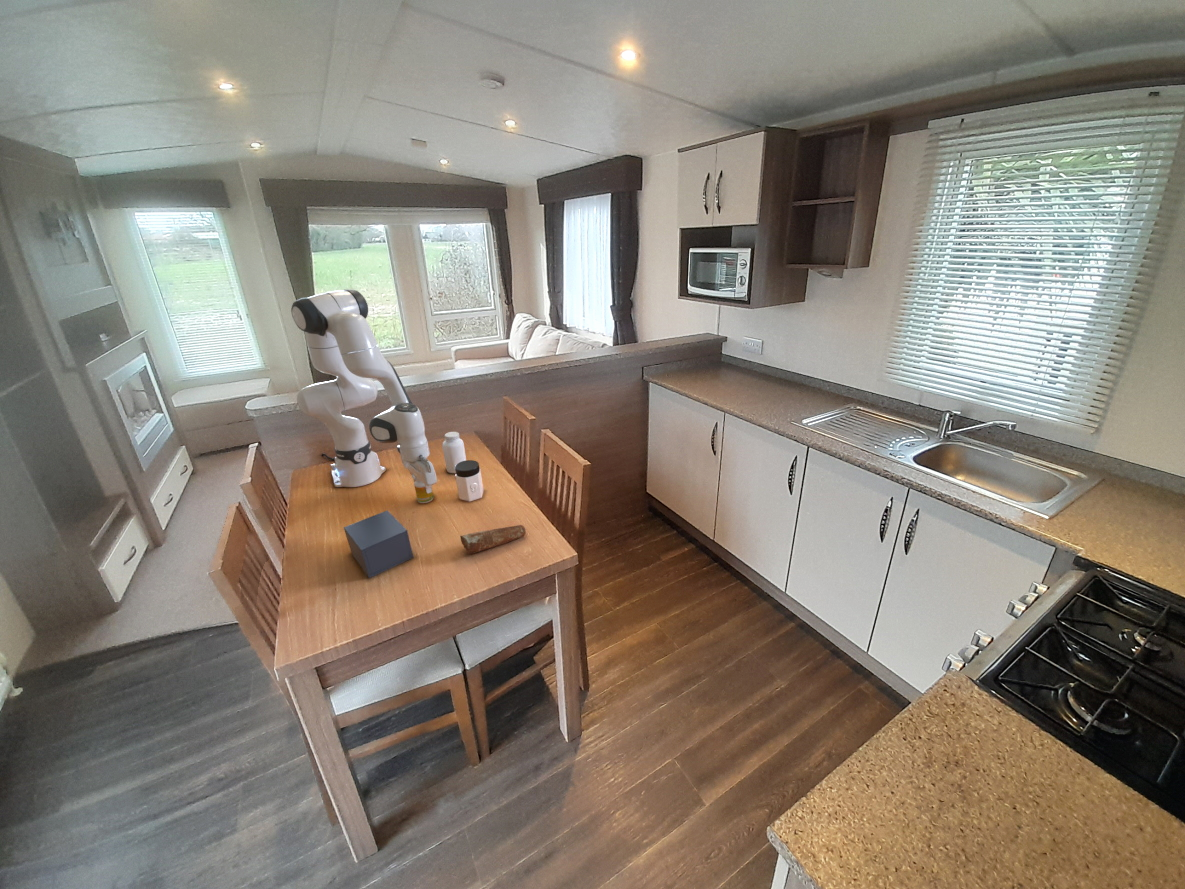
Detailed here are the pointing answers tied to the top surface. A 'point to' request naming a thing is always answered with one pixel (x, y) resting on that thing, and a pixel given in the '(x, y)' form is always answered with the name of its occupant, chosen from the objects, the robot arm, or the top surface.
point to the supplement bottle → (422, 492)
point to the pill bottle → (453, 451)
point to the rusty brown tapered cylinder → (491, 538)
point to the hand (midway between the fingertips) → (422, 487)
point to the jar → (469, 480)
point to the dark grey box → (378, 543)
